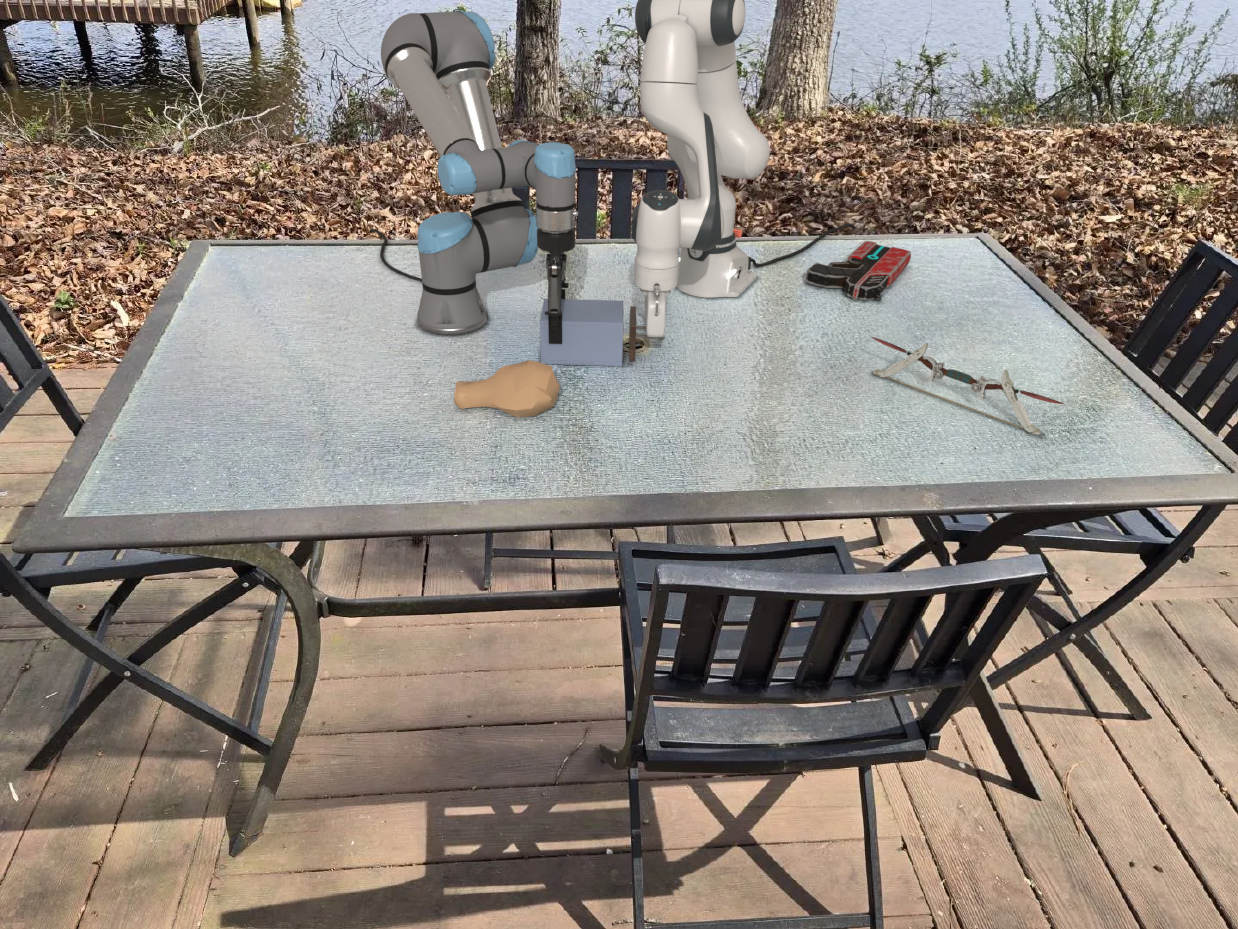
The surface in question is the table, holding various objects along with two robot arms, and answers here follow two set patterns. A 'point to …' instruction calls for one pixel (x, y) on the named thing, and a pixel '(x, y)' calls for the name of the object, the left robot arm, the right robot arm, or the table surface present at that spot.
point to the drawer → (633, 333)
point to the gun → (862, 271)
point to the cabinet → (585, 333)
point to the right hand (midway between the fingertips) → (652, 338)
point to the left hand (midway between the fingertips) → (557, 330)
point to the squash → (512, 390)
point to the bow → (976, 386)
